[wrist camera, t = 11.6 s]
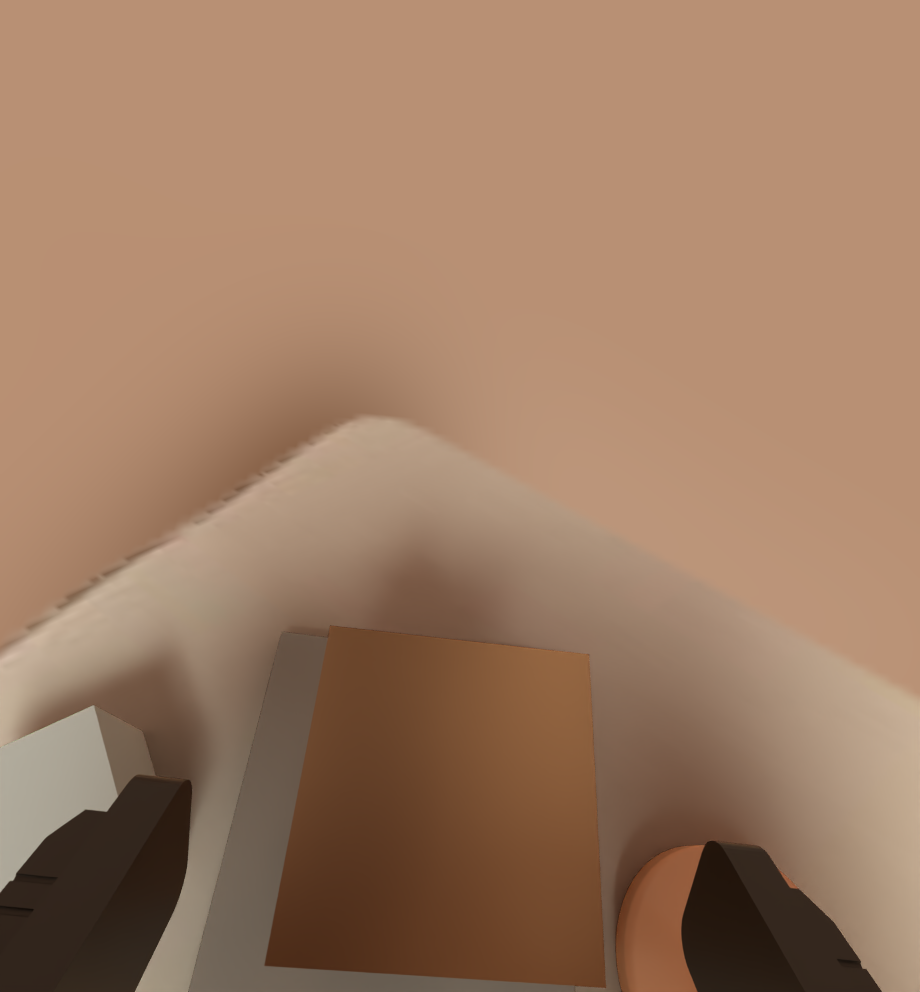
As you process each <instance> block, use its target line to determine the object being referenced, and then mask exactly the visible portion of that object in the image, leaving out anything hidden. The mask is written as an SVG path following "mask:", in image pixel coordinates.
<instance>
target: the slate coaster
mask: <svg viewBox="0 0 920 992" xmlns="http://www.w3.org/2000/svg"><path fill="white" fill-rule="evenodd" d="M327 639H328V637H321V636H313V635H305V634H298V633H290V632H281V636H280V640H279V644H278V648H277V652H276V656H275V659H274V663H273V667H272V671H271V675H270V679H269V683H268V686H267V690H266V694H265V698H264V702H263V706H262V710H261V713H260V717H259V721H258V725H257V729H256V733H255V737H254V740H253V744H252V748H251V752H250V756H249V760H248V764H247V767H246V771H245V775H244V779H243V783H242V787H241V790H240V794H239V798H238V802H237V806H236V810H235V814H234V817H233V821H232V825H231V829H230V833H229V837H228V841H227V844H226V848H225V852H224V856H223V860H222V864H221V868H220V871H219V875H218V879H217V883H216V887H215V891H214V895H213V898H212V902H211V906H210V910H209V914H208V918H207V921H206V925H205V929H204V933H203V937H202V941H201V945H200V948H199V952H198V956H197V960H196V964H195V968H194V972H193V975H192V979H191V983H190V987H189V991H188V992H575V986H570V985H554V984H538V983H523V982H507V981H491V980H476V979H460V978H444V977H428V976H413V975H397V974H381V973H366V972H350V971H334V970H318V969H303V968H287V967H271V966H264V964H265V959H266V954H267V949H268V944H269V938H270V933H271V928H272V923H273V918H274V913H275V908H276V902H277V897H278V892H279V887H280V882H281V877H282V871H283V866H284V861H285V856H286V851H287V846H288V841H289V835H290V830H291V825H292V820H293V815H294V810H295V804H296V799H297V794H298V789H299V784H300V779H301V773H302V768H303V763H304V758H305V753H306V748H307V743H308V737H309V732H310V727H311V722H312V717H313V712H314V706H315V701H316V696H317V691H318V686H319V681H320V676H321V670H322V665H323V660H324V655H325V650H326V645H327Z"/></svg>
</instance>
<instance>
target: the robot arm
mask: <svg viewBox="0 0 920 992" xmlns="http://www.w3.org/2000/svg"><path fill="white" fill-rule="evenodd" d="M191 797H192V785H191V782H190V780H186V779H177V778H168V777H159V776H150V775H141V774H138V775H136V776H134V777H133V778H132V779H131V780H130V781H129V783H128V784H127V785H126V786H125V788H124V789H123V790H122V792H121V793H120V795H119V796H118V797H117V799H116V800H115V801H114V803H113V804H112V805H111V807H110V808H109V809H108V811H107V812H105V811H96V810H87V809H85V810H84V811H83V812H81V813H80V814H78V815H77V816H75V817H74V818H73V819H71V820H70V821H68V822H67V823H66V824H64V825H63V826H61V827H60V828H58V829H57V830H56V831H54V832H53V833H51V834H50V835H48V836H47V837H46V838H45V839H44V840H43V841H42V843H41V844H40V845H39V846H38V847H37V849H36V850H35V851H34V852H33V853H32V855H31V856H30V857H29V858H28V859H27V861H26V862H25V863H24V864H23V866H22V867H21V868H20V869H19V870H18V872H17V873H16V876H15V878H14V880H13V881H9V882H8V884H7V885H6V886H5V887H4V888H3V890H2V891H1V892H0V992H135V990H136V988H137V986H138V984H139V982H140V980H141V977H142V975H143V973H144V971H145V969H146V967H147V965H148V963H149V961H150V959H151V957H152V955H153V953H154V951H155V949H156V947H157V945H158V943H159V941H160V939H161V937H162V934H163V932H164V930H165V928H166V926H167V924H168V922H169V920H170V918H171V916H172V914H173V912H174V909H175V907H176V904H177V902H178V899H179V896H180V893H181V890H182V886H183V883H184V879H185V874H186V869H187V861H188V846H189V830H190V813H191ZM681 937H682V946H683V952H684V957H685V960H686V964H687V967H688V970H689V972H690V975H691V977H692V980H693V982H694V985H695V987H696V990H697V992H882V991H881V990H880V988H879V987H878V985H877V984H876V983H875V981H874V980H873V978H872V977H871V975H870V974H869V972H868V971H867V970H866V969H862V967H861V961H860V959H859V958H858V957H857V955H856V954H855V952H854V951H853V949H852V948H851V946H850V945H849V944H848V942H847V941H846V939H845V938H844V936H843V935H842V933H841V932H840V931H839V929H838V928H837V926H836V925H835V923H834V922H833V921H832V920H831V919H830V918H829V917H828V916H827V915H826V914H825V913H823V912H822V911H821V910H820V909H819V908H818V907H817V906H816V905H815V904H814V903H813V902H812V901H811V900H810V899H809V898H808V897H807V896H806V895H805V894H804V893H803V892H801V891H800V890H799V889H796V888H790V887H789V885H788V884H787V882H786V881H785V879H784V878H783V876H782V875H781V873H780V872H779V870H778V869H777V867H776V866H775V864H774V862H773V861H772V859H771V858H770V856H769V855H768V854H767V852H765V851H764V850H763V849H762V848H761V847H759V846H754V845H745V844H737V843H728V842H719V841H709V842H708V843H707V844H706V845H705V846H704V848H703V851H702V854H701V857H700V860H699V863H698V867H697V870H696V873H695V877H694V880H693V883H692V887H691V890H690V893H689V896H688V900H687V903H686V906H685V910H684V913H683V917H682V924H681Z"/></svg>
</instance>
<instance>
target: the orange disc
mask: <svg viewBox="0 0 920 992" xmlns="http://www.w3.org/2000/svg"><path fill="white" fill-rule="evenodd" d="M704 846H705V845H690V846H680V847H676V848H672V849H669V850H667V851H665V852H662V853H660V854H659V855H657V856H656V857H654V858H653V859H651V860H650V861H649V862H648V863H647V864H646V865H645V866H644V867H643V868H642V869H641V870H640V871H639V873H638V874H637V875H636V876H635V878H634V879H633V881H632V883H631V885H630V886H629V888H628V890H627V893H626V895H625V897H624V900H623V902H622V906H621V910H620V914H619V918H618V925H617V932H616V961H617V970H618V976H619V982H620V986H621V990H622V992H697V990H696V987H695V985H694V982H693V980H692V977H691V975H690V972H689V970H688V967H687V964H686V960H685V957H684V952H683V946H682V937H681V924H682V917H683V913H684V910H685V906H686V903H687V900H688V896H689V893H690V890H691V887H692V883H693V880H694V877H695V873H696V870H697V867H698V863H699V860H700V857H701V854H702V851H703V848H704ZM779 872H780V873H781V875H782V876H783V878H784V879H785V881H786V882H787V884H788V885H789V887H790V888H796V889H798V888H797V887H796V886H795V885H794V884H793V883H792V881H791V880H790V879H789V878H787V877H786V876H785V875H784V874H783V873H782V872H781V871H780V870H779Z"/></svg>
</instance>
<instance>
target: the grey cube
mask: <svg viewBox="0 0 920 992" xmlns="http://www.w3.org/2000/svg"><path fill="white" fill-rule="evenodd" d="M138 774H141V775H150V776H156V774H155V771H154V768H153V764H152V761H151V757H150V754H149V751H148V747H147V744H146V740H145V737H144V734H143V731H141V730H139V729H138V728H136V727H134V726H132V725H130V724H128V723H126V722H125V721H123V720H121V719H119V718H117V717H115V716H113V715H112V714H110V713H108V712H106V711H104V710H102V709H100V708H99V707H97V706H95V705H93V706H90V707H88V708H86V709H84V710H82V711H79V712H77V713H75V714H73V715H71V716H68V717H66V718H64V719H62V720H59V721H57V722H55V723H53V724H51V725H48V726H46V727H44V728H42V729H40V730H37V731H35V732H33V733H31V734H29V735H26V736H24V737H22V738H20V739H17V740H15V741H13V742H11V743H9V744H6V745H4V746H2V747H0V892H1V891H2V890H3V888H4V887H5V886H6V885H7V884H8V882H9V881H13V880H14V878H15V876H16V873H17V872H18V870H19V869H20V868H21V867H22V866H23V864H24V863H25V862H26V861H27V859H28V858H29V857H30V856H31V855H32V853H33V852H34V851H35V850H36V849H37V847H38V846H39V845H40V844H41V843H42V841H43V840H44V839H45V838H46V837H47V836H48V835H50V834H51V833H53V832H54V831H56V830H57V829H58V828H60V827H61V826H63V825H64V824H66V823H67V822H68V821H70V820H71V819H73V818H74V817H75V816H77V815H78V814H80V813H81V812H83V811H84V810H85V809H87V810H96V811H105V812H107V811H108V809H109V808H110V807H111V805H112V804H113V803H114V801H115V800H116V799H117V797H118V796H119V795H120V793H121V792H122V790H123V789H124V788H125V786H126V785H127V784H128V783H129V781H130V780H131V779H132V778H133V777H134V776H136V775H138Z"/></svg>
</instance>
